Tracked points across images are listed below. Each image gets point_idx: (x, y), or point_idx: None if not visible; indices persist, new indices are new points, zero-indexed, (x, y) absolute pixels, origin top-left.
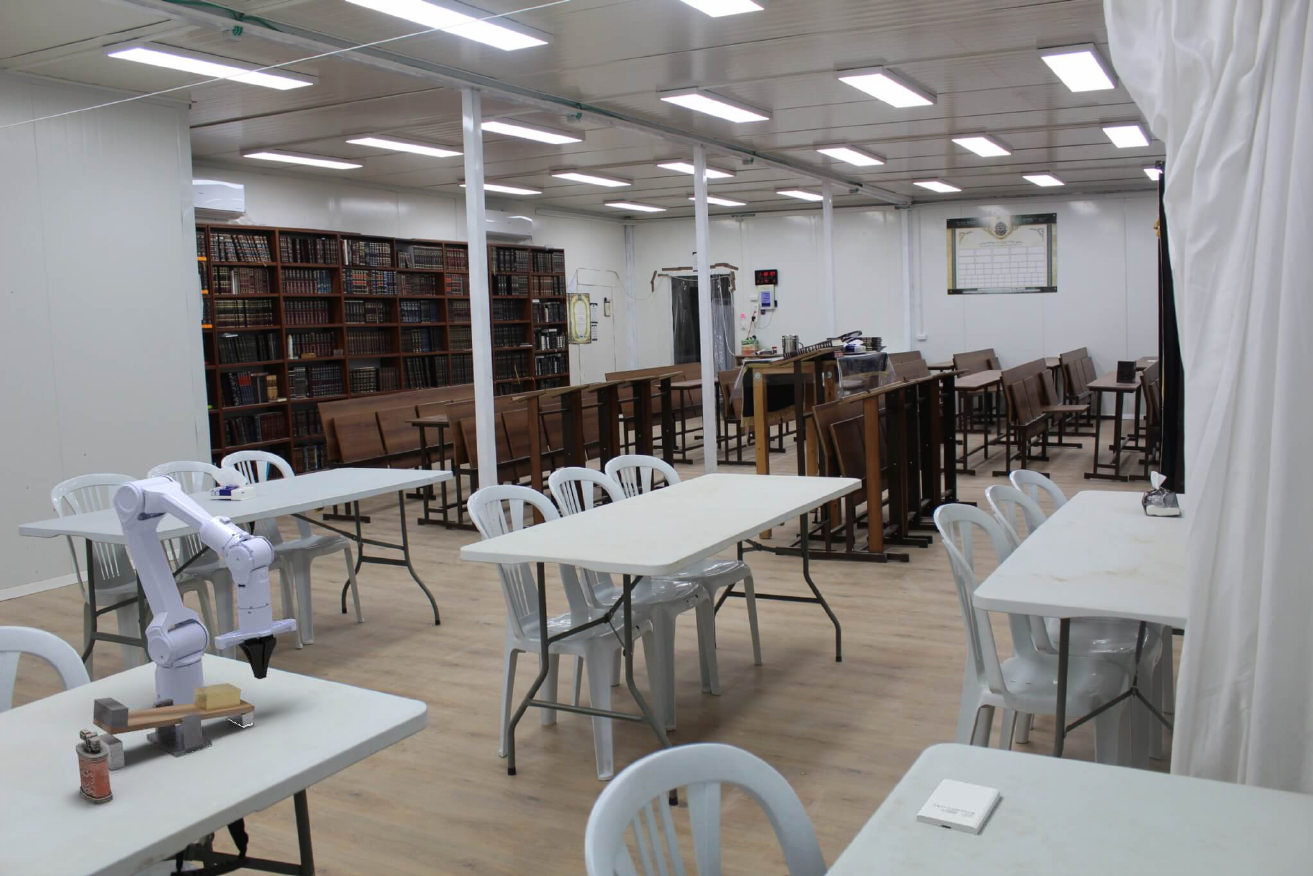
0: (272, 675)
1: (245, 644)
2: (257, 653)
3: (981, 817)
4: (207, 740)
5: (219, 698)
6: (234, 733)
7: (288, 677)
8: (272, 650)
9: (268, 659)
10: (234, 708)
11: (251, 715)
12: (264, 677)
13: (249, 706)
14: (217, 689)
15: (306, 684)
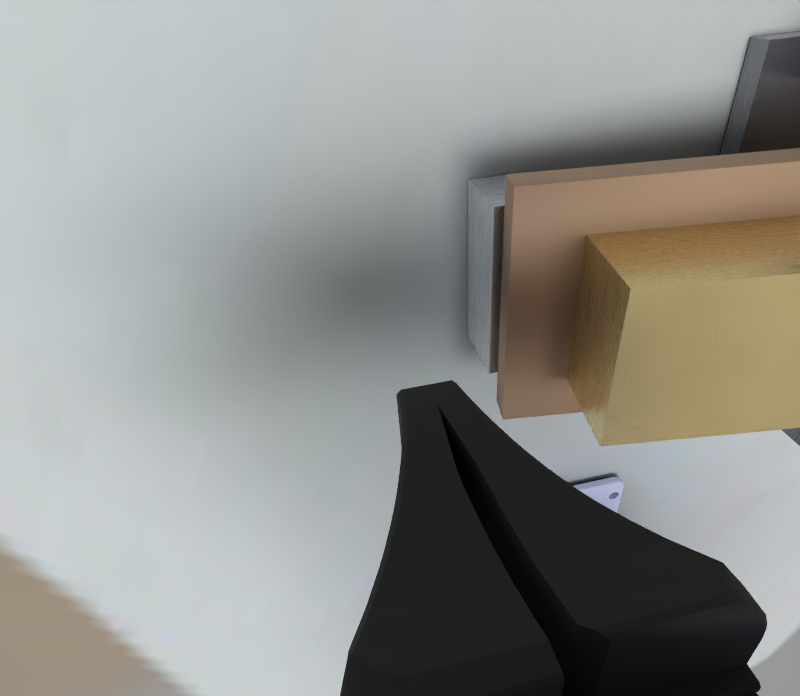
0: (192, 654)
1: (755, 686)
2: (589, 536)
3: None
4: (770, 71)
5: (765, 253)
6: (587, 135)
7: (138, 621)
8: (389, 570)
9: (413, 492)
10: (648, 189)
11: (497, 198)
12: (415, 389)
13: (547, 191)
14: (751, 345)
15: (75, 533)
